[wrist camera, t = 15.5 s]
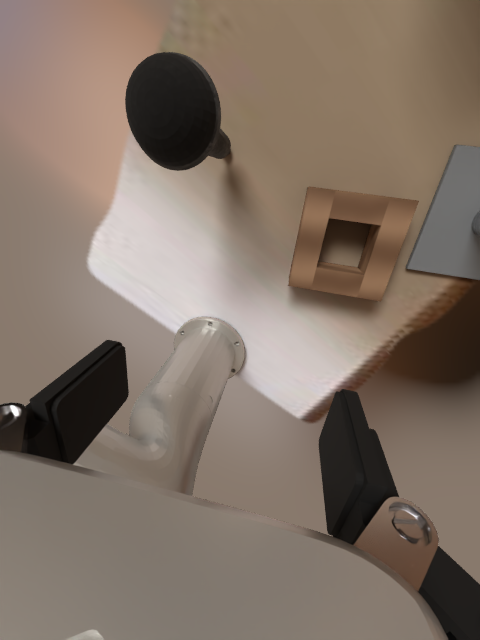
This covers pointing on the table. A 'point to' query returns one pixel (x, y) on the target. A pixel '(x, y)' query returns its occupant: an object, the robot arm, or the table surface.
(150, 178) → the table surface
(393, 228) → the eye block
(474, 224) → the steel peg
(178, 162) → the microphone
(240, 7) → the table surface
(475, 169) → the slate mat
